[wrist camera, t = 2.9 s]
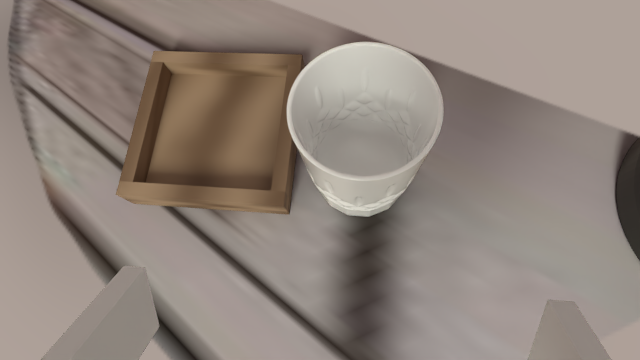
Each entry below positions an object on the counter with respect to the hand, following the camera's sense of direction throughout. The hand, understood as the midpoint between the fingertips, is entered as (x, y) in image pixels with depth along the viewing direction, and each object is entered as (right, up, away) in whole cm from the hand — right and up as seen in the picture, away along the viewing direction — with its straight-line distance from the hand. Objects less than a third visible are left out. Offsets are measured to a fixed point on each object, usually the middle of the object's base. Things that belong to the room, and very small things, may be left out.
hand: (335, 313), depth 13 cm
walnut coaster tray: (-8, +8, +18) cm, 21 cm away
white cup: (+3, +5, +16) cm, 17 cm away
